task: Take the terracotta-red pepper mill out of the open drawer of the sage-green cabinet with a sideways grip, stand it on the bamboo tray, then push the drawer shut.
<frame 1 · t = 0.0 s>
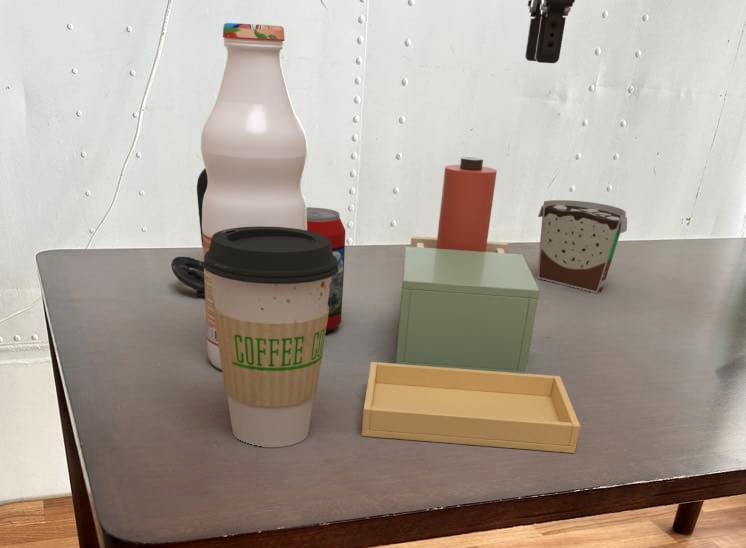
hand: (540, 61, 81), 26 cm above the table, tool pointing down, fingers open, 8 cm apart
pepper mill: (454, 298, 96), point 2 cm above the table, touching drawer
beverage can: (310, 329, 90), on the table
food container: (577, 284, 113), on the table
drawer: (457, 277, 95), point 4 cm above the table, slide at 9.0 cm, touching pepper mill
milk frother: (237, 286, 103), on the table
coffee cup: (270, 433, 66), on the table
tray: (464, 417, 71), on the table
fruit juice: (255, 363, 80), on the table
cabinet: (456, 350, 86), on the table
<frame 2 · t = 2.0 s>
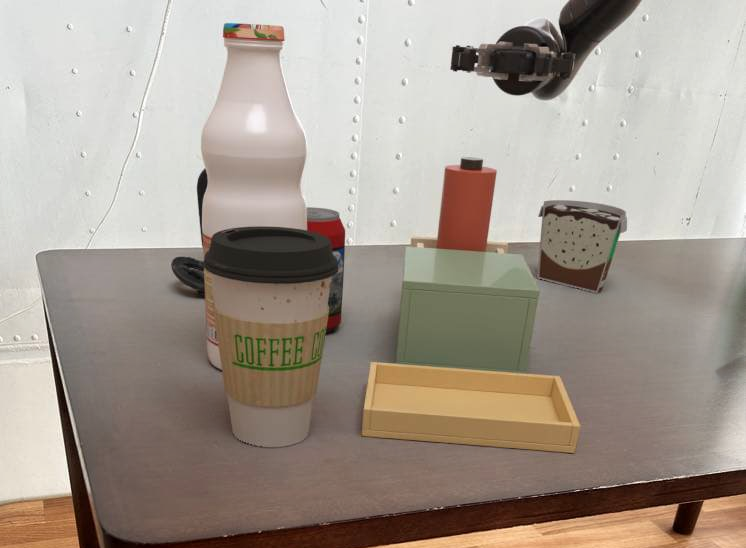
hand: (502, 62, 92), 26 cm above the table, tool horizontal, fingers open, 8 cm apart
nothing on the table moved.
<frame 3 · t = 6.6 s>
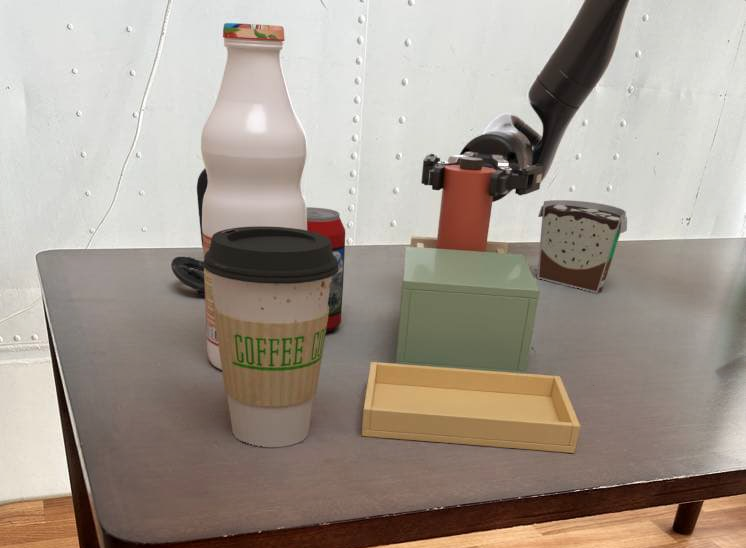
hand: (464, 182, 87), 15 cm above the table, tool horizontal, fingers closed on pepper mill, 5 cm apart
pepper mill: (454, 298, 96), point 2 cm above the table, touching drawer, gripper
everything else where it was.
when the fingers open (13 cm above the table, at t = 16.8 s): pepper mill stays where it is, resting on tray.
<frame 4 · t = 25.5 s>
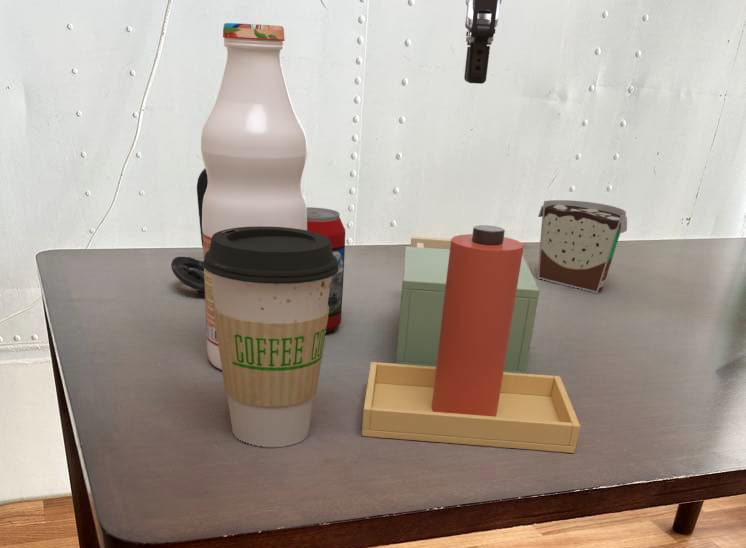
hand: (474, 82, 97), 24 cm above the table, tool pointing down, fingers open, 8 cm apart
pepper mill: (463, 410, 70), point 1 cm above the table, touching tray
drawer: (457, 277, 95), point 4 cm above the table, slide at 9.0 cm
everything else where it was.
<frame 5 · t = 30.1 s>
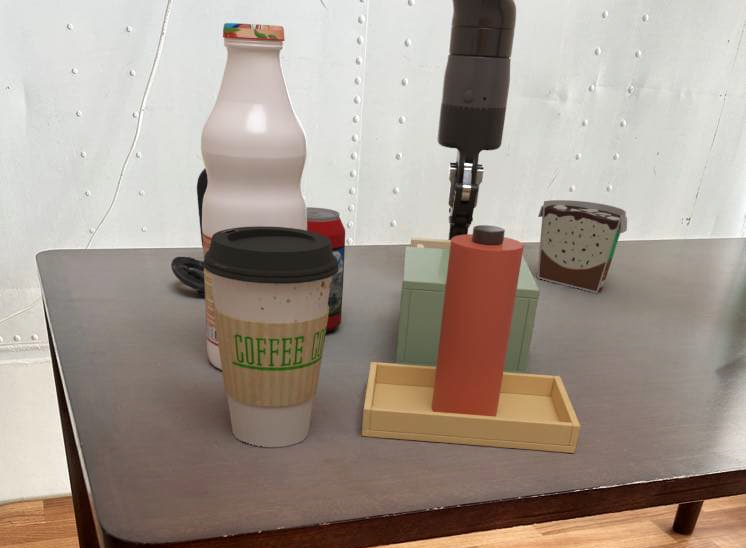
hand: (455, 256, 103), 4 cm above the table, tool pointing down, fingers closed
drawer: (457, 279, 94), point 4 cm above the table, slide at 8.2 cm, touching gripper
everything else where it was.
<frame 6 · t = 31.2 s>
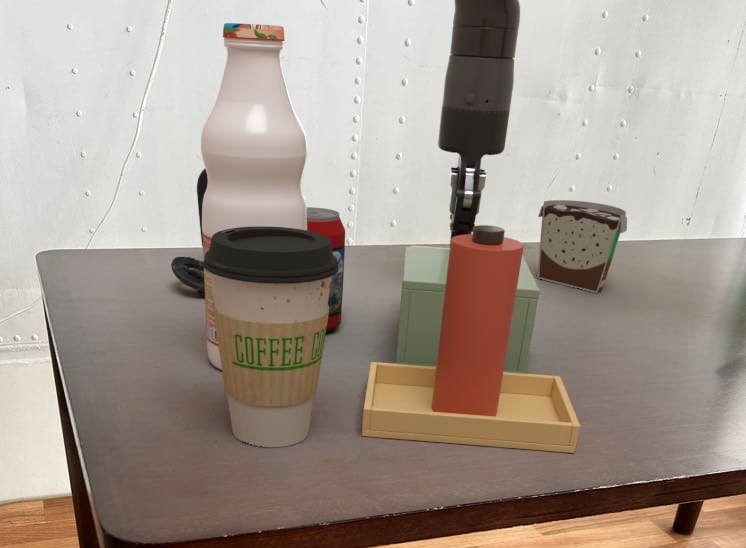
hand: (456, 264, 99), 4 cm above the table, tool pointing down, fingers closed
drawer: (458, 288, 91), point 4 cm above the table, slide at 3.8 cm, touching gripper
everything else where it was.
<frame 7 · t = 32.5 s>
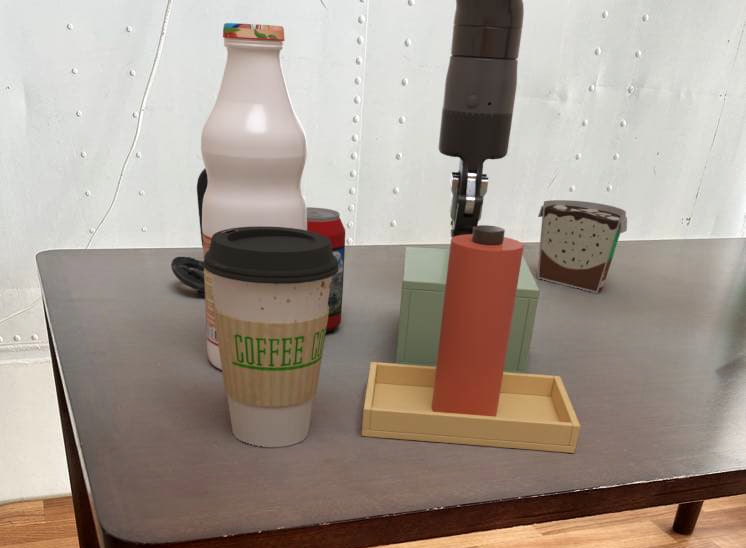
hand: (458, 272, 96), 4 cm above the table, tool pointing down, fingers closed
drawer: (460, 298, 87), point 4 cm above the table, slide at 0.0 cm, touching cabinet, gripper
everything else where it was.
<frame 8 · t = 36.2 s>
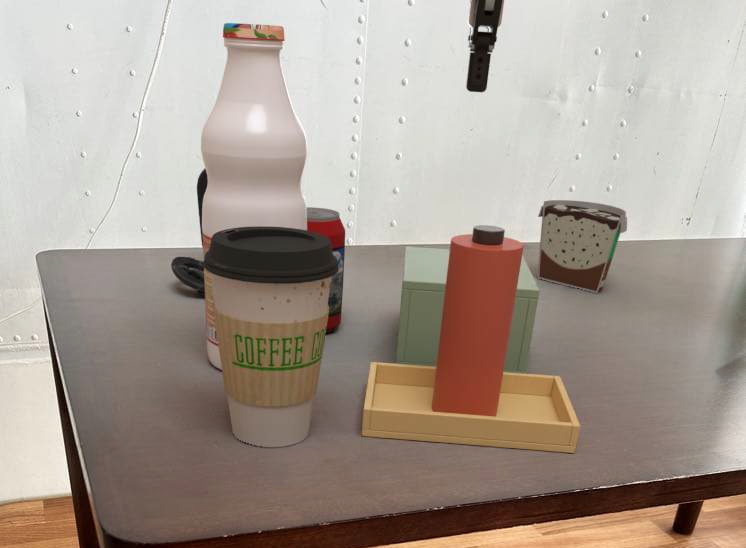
hand: (475, 91, 91), 23 cm above the table, tool pointing down, fingers closed
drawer: (460, 298, 87), point 4 cm above the table, slide at 0.0 cm, touching cabinet
everything else where it was.
at the end: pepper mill inside the target area in the tray (0.1 cm from its centre), point 0.6 cm above the tray's base; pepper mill tilted 0°; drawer slide at 0.0 cm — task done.
